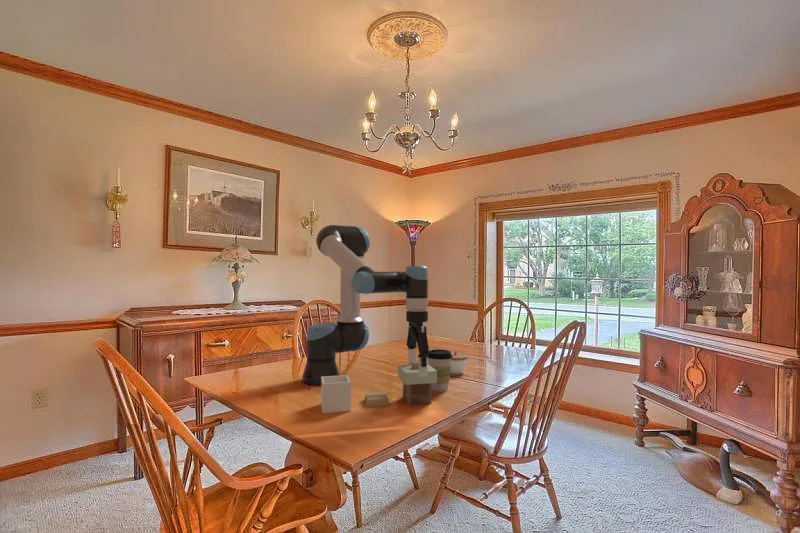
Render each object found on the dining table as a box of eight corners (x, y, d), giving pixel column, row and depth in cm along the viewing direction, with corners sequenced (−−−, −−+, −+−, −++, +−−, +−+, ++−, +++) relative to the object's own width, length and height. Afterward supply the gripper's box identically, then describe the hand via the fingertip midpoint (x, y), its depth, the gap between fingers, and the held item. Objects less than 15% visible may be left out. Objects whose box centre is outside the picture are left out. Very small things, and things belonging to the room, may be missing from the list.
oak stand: (364, 402, 143) (364, 393, 143) (384, 400, 145) (384, 392, 145) (367, 408, 136) (367, 399, 136) (388, 407, 138) (388, 398, 138)
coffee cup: (451, 395, 151) (451, 354, 151) (424, 394, 153) (424, 353, 153) (453, 388, 160) (453, 349, 160) (428, 386, 162) (428, 348, 162)
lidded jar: (469, 375, 179) (469, 354, 179) (444, 375, 179) (444, 354, 179) (465, 369, 190) (465, 349, 190) (442, 369, 190) (442, 349, 190)
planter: (320, 406, 139) (321, 376, 139) (347, 404, 141) (347, 375, 141) (322, 415, 130) (322, 383, 130) (350, 413, 132) (350, 382, 132)
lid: (397, 376, 147) (397, 359, 147) (427, 374, 150) (427, 358, 150) (405, 384, 136) (405, 366, 136) (437, 382, 139) (437, 365, 139)
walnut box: (402, 399, 146) (402, 377, 146) (424, 398, 148) (424, 375, 148) (408, 407, 138) (408, 383, 138) (431, 405, 140) (431, 381, 140)
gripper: (438, 313, 132) (439, 379, 131) (417, 307, 156) (418, 363, 156) (416, 313, 130) (416, 381, 130) (398, 307, 154) (398, 364, 154)
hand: (417, 371), depth 143 cm, fingers open, 13 cm apart
